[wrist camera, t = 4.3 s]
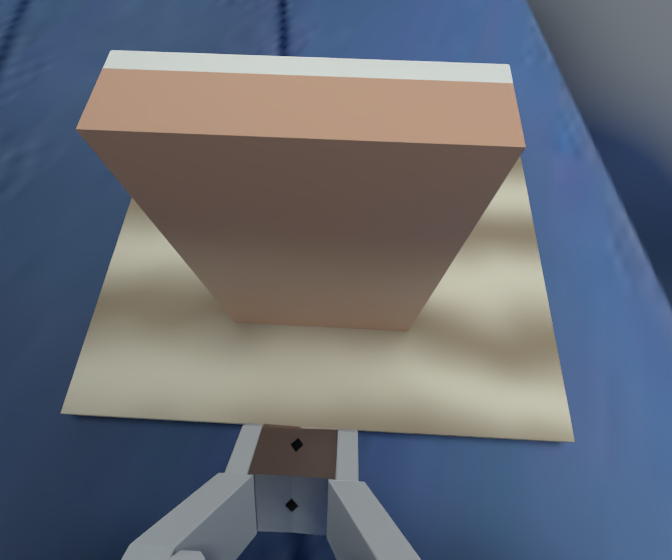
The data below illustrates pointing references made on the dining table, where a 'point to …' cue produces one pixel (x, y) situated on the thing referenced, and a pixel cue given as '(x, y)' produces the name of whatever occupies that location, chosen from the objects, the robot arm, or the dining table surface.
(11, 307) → the dining table surface
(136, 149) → the tile
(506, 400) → the board
